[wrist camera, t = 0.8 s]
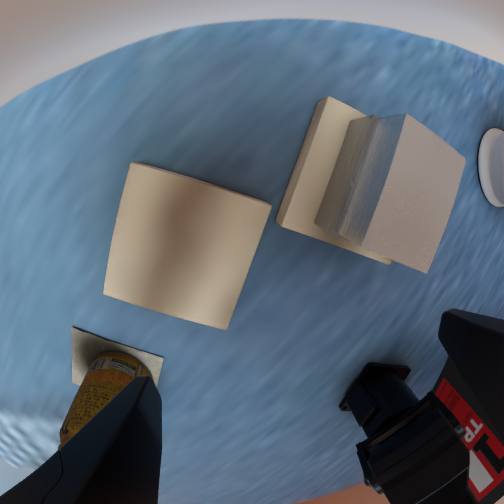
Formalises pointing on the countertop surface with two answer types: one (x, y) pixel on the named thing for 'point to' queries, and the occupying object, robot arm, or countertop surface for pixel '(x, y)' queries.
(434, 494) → the robot arm
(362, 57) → the countertop surface
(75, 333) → the condiment
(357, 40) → the countertop surface
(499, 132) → the jar
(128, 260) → the stand
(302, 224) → the stand
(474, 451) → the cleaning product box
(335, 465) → the countertop surface
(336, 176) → the block
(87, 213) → the countertop surface
